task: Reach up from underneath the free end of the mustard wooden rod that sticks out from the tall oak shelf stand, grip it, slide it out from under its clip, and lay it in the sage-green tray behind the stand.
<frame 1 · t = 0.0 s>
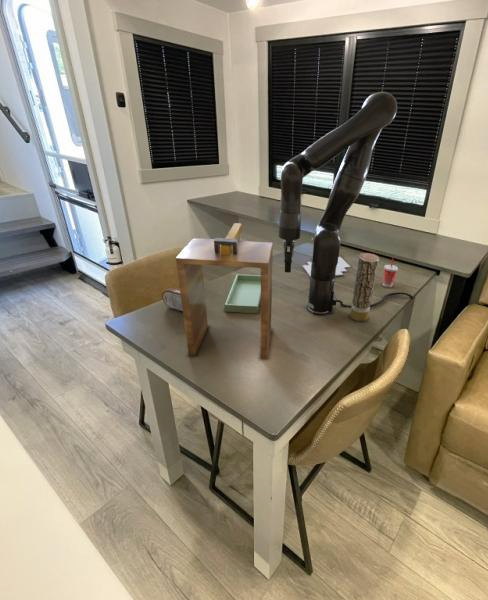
hand: (288, 267, 122), 17 cm above the table, tool pointing down, fingers open, 8 cm apart
paper stack: (326, 267, 167), on the table
tin: (182, 310, 123), on the table
rod: (232, 241, 99), point 32 cm above the table, touching shelf stand
shelf stand: (232, 341, 108), on the table
tray: (246, 295, 136), on the table
bark covered firewood piece: (358, 317, 127), on the table
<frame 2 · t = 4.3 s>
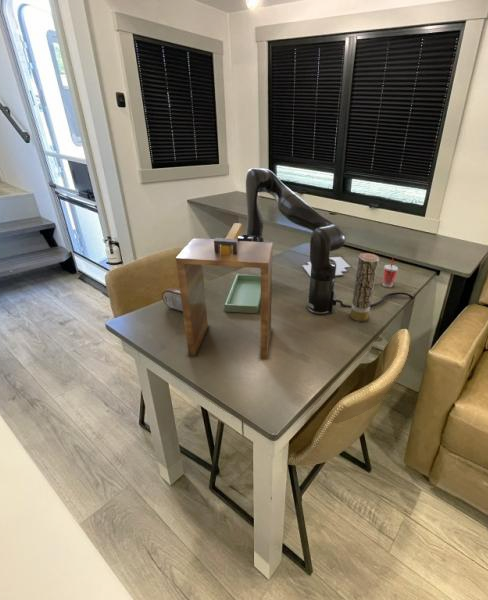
hand: (242, 237, 117), 27 cm above the table, tool pointing upward, fingers open, 8 cm apart
nothing on the table moved.
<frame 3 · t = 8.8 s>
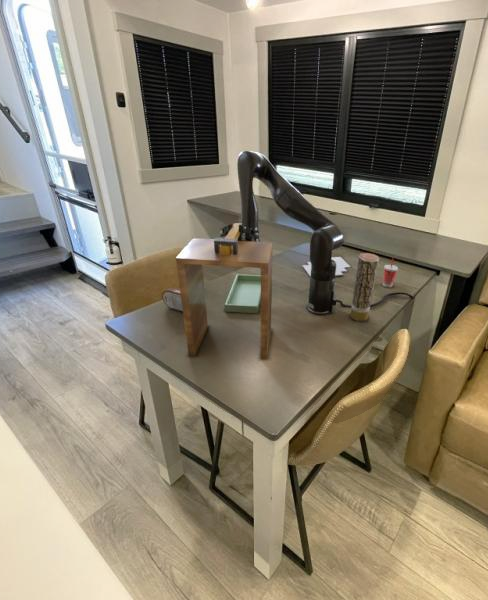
hand: (235, 227, 102), 35 cm above the table, tool pointing upward, fingers closed on rod, 2 cm apart
rod: (232, 241, 99), point 32 cm above the table, touching gripper, shelf stand
everything else where it was.
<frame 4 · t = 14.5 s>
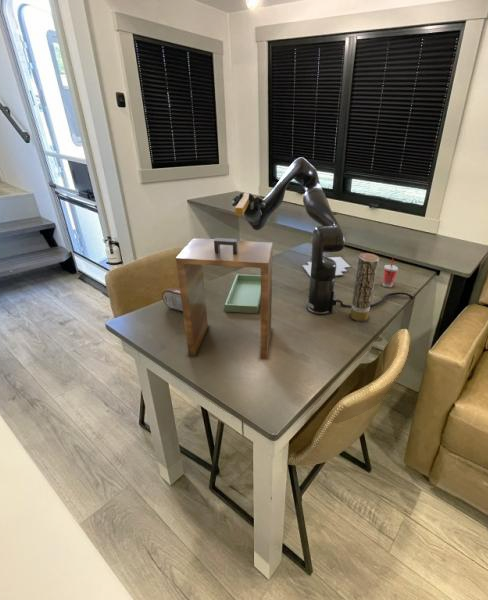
hand: (245, 196, 122), 39 cm above the table, tool pointing upward, fingers closed on rod, 2 cm apart
rod: (243, 207, 118), point 36 cm above the table, touching gripper
everything else where it was.
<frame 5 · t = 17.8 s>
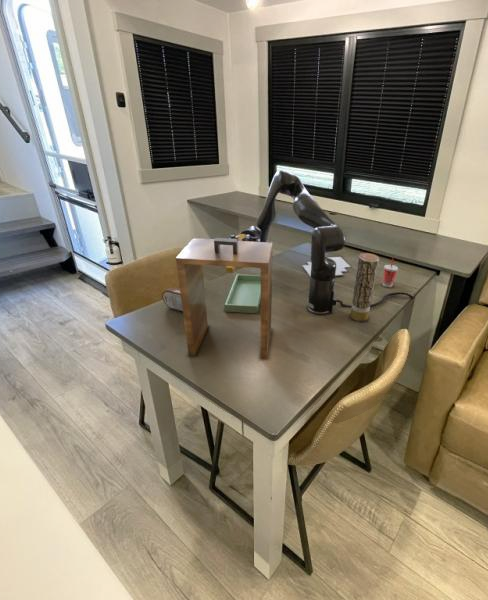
hand: (239, 240, 130), 22 cm above the table, tool horizontal, fingers closed on rod, 2 cm apart
rod: (236, 254, 128), point 18 cm above the table, tilted 15°, touching gripper
everything else where it was.
when the fingers open (10 cm above the table, at t = 20.6 s): rod drops 4 cm, resting on tray.
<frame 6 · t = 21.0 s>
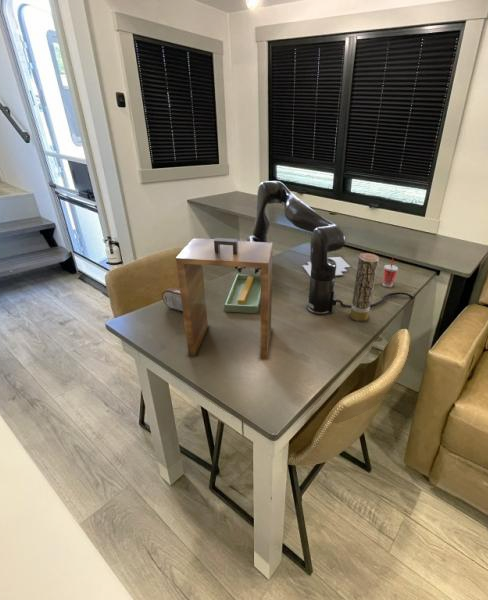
hand: (247, 271, 137), 9 cm above the table, tool horizontal, fingers open, 6 cm apart
rod: (246, 292, 137), resting on tray
everything else where it was.
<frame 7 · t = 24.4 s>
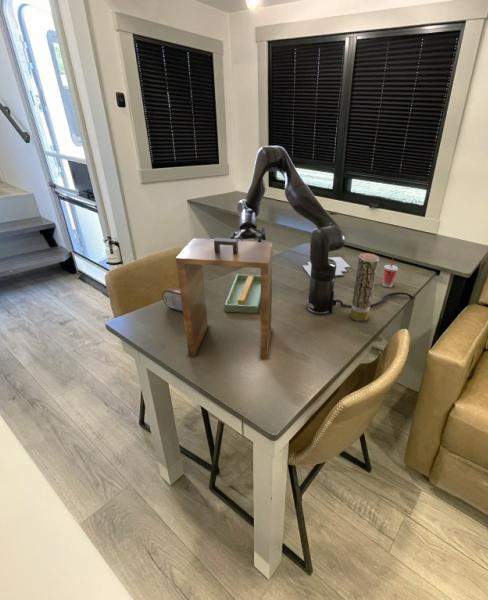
hand: (248, 244, 130), 20 cm above the table, tool horizontal, fingers open, 8 cm apart
nothing on the table moved.
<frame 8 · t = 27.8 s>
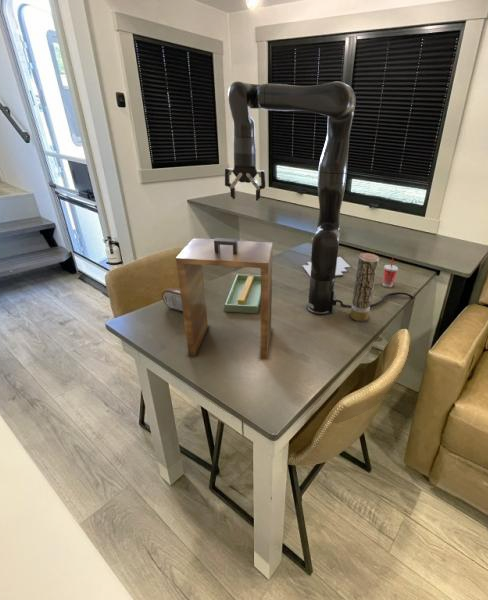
hand: (245, 199, 121), 38 cm above the table, tool pointing down, fingers open, 8 cm apart
nothing on the table moved.
at the end: rod inside the target area on the tray (1.5 cm from its centre), point 0.5 cm above the tray's base; the gripper is holding nothing; rod moved 41.2 cm from its start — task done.
